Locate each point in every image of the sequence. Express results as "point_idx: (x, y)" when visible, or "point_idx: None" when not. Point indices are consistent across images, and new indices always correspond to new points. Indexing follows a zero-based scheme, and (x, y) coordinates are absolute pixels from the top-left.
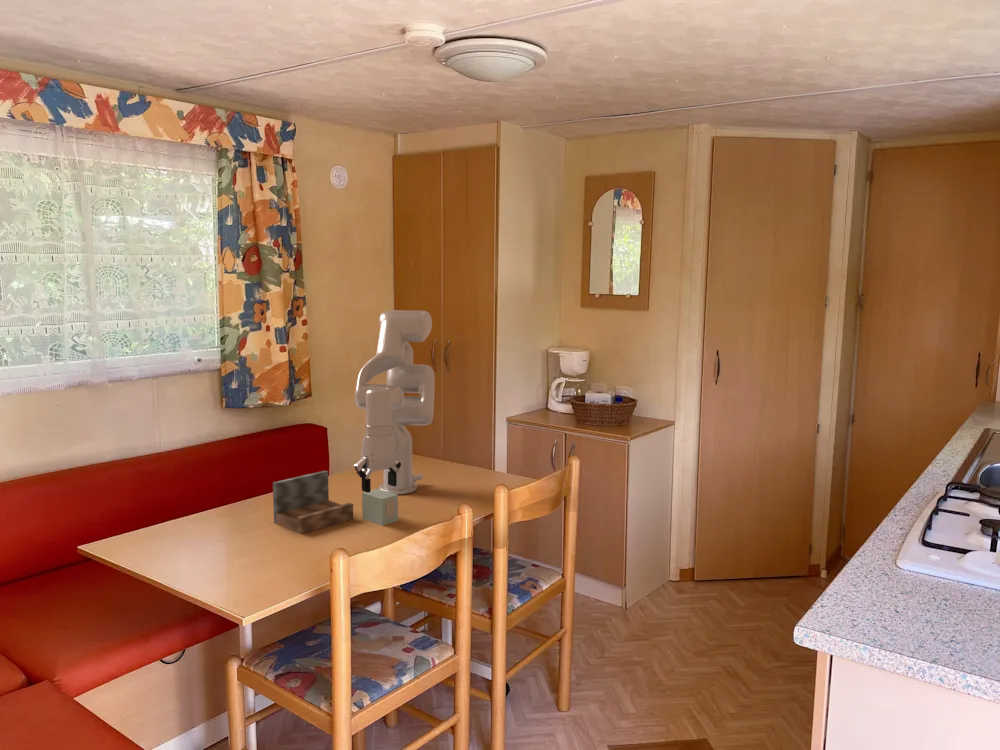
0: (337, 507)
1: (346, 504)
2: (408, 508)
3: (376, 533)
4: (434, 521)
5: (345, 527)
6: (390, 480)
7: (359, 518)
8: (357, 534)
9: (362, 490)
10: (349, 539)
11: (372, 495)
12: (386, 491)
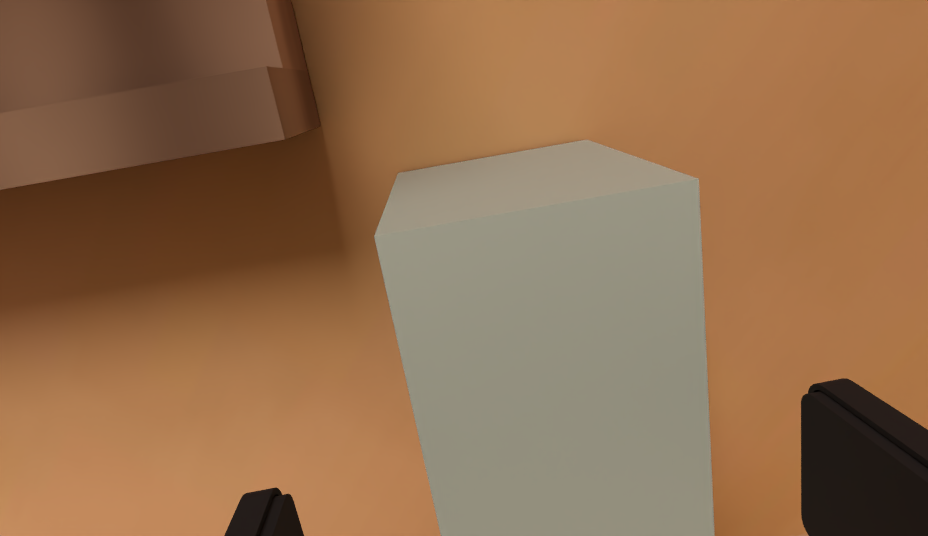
0: (51, 156)
1: (200, 108)
2: (899, 149)
3: (337, 519)
4: None
5: (174, 281)
6: (859, 501)
7: (384, 135)
8: (203, 469)
9: (250, 500)
10: (111, 523)
11: (436, 434)
12: (693, 385)
